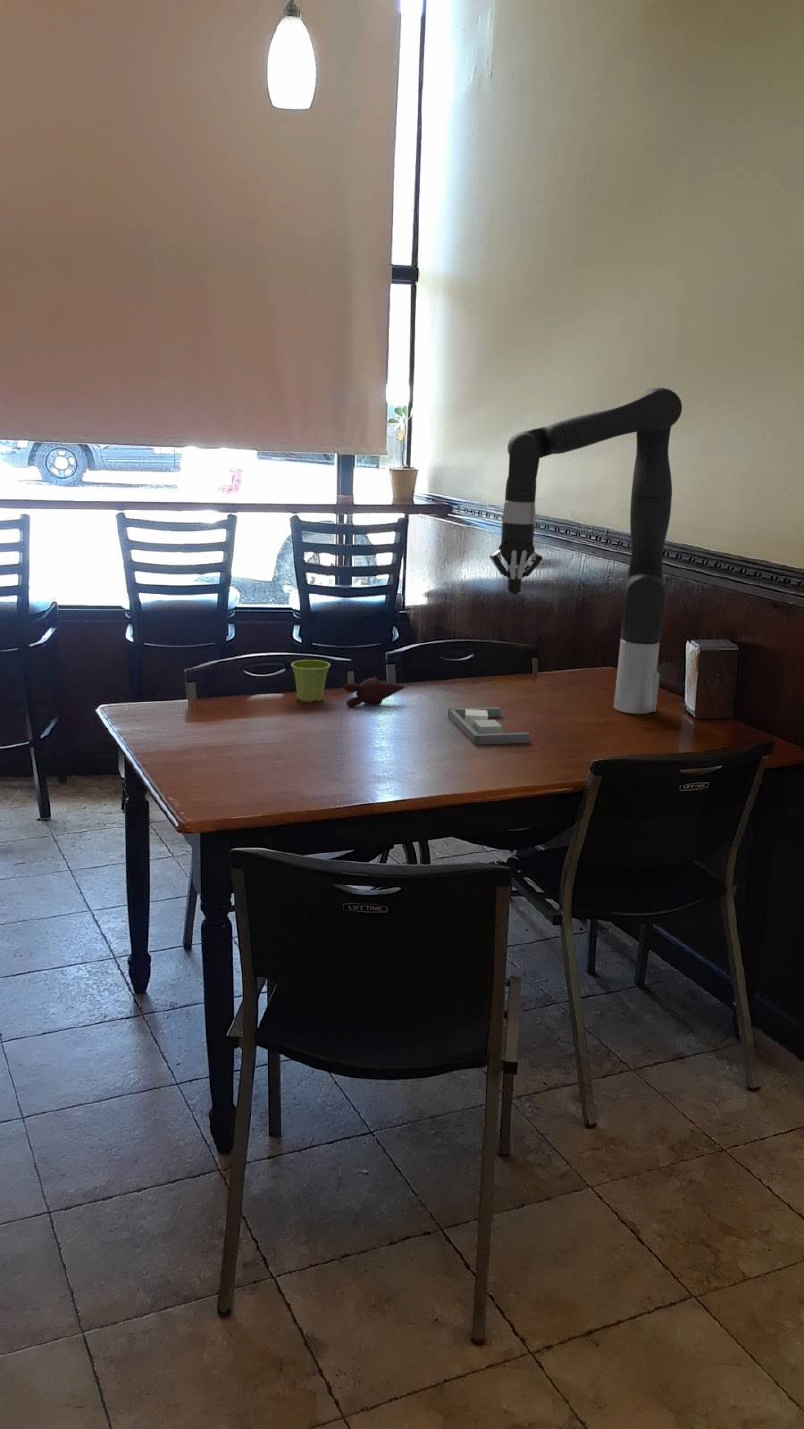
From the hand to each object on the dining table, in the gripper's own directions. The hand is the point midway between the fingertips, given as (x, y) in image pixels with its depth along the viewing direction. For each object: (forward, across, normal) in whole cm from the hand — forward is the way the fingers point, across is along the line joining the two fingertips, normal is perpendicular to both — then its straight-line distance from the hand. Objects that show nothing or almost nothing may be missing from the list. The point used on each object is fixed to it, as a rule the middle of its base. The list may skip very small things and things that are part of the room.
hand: (513, 594), depth 265 cm
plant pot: (+27, +47, -8) cm, 55 cm away
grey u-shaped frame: (+27, +11, +20) cm, 36 cm away
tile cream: (+27, +13, +16) cm, 34 cm away
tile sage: (+27, +13, +25) cm, 39 cm away
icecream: (+27, +32, -2) cm, 42 cm away
